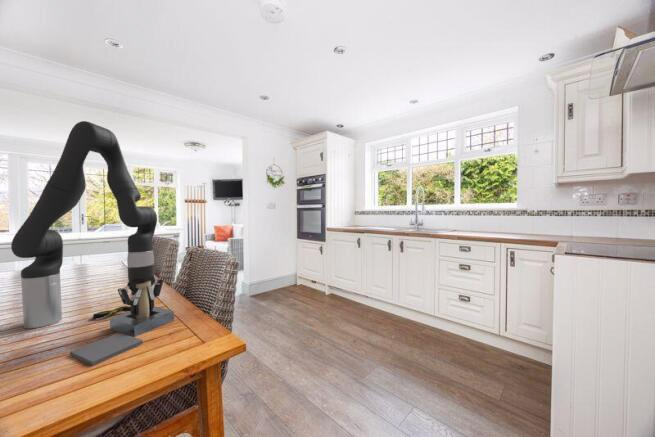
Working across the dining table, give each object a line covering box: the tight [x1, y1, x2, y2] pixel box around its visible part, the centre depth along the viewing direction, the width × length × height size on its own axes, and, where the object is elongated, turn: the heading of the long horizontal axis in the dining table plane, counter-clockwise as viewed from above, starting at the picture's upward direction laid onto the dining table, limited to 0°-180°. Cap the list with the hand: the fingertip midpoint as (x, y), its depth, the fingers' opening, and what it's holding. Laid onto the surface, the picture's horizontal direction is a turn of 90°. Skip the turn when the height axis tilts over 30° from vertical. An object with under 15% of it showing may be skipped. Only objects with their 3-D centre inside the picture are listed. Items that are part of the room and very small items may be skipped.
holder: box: [109, 305, 175, 338], centre depth 90 cm, size 14×13×4 cm
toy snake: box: [92, 305, 131, 320], centre depth 102 cm, size 18×5×10 cm
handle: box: [136, 281, 151, 320], centre depth 90 cm, size 5×6×15 cm
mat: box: [69, 332, 144, 366], centre depth 74 cm, size 12×12×1 cm
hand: (142, 312), depth 90 cm, fingers open, 4 cm apart
